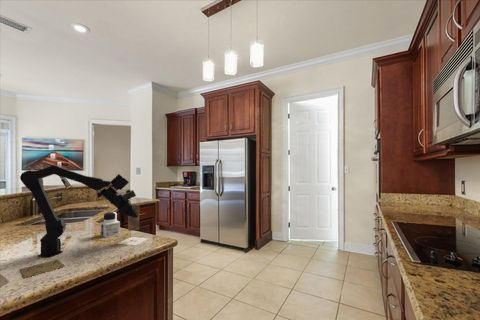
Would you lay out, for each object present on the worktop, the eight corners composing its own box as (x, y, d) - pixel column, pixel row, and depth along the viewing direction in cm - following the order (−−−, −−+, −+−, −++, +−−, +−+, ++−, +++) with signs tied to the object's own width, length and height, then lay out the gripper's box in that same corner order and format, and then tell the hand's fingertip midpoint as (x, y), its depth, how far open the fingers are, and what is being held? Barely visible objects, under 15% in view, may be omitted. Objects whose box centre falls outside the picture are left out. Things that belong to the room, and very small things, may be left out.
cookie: (58, 260, 95) (58, 257, 95) (65, 268, 87) (65, 265, 87) (18, 270, 86) (18, 267, 86) (23, 280, 78) (23, 277, 78)
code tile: (136, 245, 111) (136, 245, 111) (116, 244, 113) (116, 243, 113) (148, 238, 122) (148, 238, 122) (131, 237, 124) (131, 237, 124)
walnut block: (128, 230, 114) (129, 205, 115) (128, 228, 118) (128, 204, 119) (139, 229, 117) (139, 204, 117) (138, 227, 121) (138, 203, 121)
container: (105, 238, 123) (106, 214, 124) (99, 235, 128) (100, 212, 129) (120, 234, 130) (120, 212, 130) (114, 232, 134) (114, 210, 135)
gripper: (127, 186, 108) (150, 207, 113) (125, 184, 125) (146, 202, 130) (108, 204, 104) (133, 224, 109) (108, 199, 120) (130, 217, 125)
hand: (136, 216), depth 118 cm, fingers closed on walnut block, 5 cm apart
